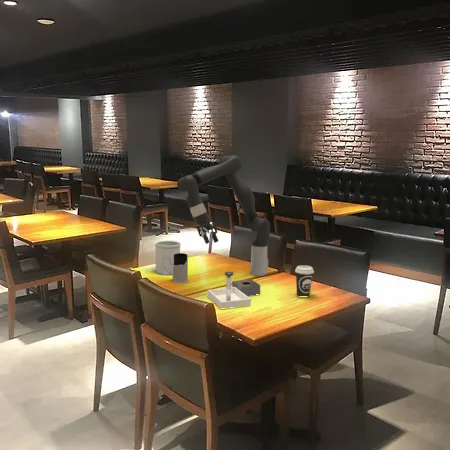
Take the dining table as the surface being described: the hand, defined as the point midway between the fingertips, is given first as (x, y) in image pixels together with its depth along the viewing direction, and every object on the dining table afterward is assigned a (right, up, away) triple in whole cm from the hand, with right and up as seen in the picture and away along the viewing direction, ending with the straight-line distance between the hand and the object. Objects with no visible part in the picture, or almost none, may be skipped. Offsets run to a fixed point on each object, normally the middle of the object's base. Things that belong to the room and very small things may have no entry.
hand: (212, 242), depth 254 cm
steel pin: (+8, -28, -8) cm, 30 cm away
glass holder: (-21, -22, +22) cm, 38 cm away
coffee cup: (+47, -28, +3) cm, 54 cm away
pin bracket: (+17, -26, +6) cm, 32 cm away
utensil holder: (-27, -19, +40) cm, 52 cm away
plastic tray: (+8, -29, -7) cm, 31 cm away
